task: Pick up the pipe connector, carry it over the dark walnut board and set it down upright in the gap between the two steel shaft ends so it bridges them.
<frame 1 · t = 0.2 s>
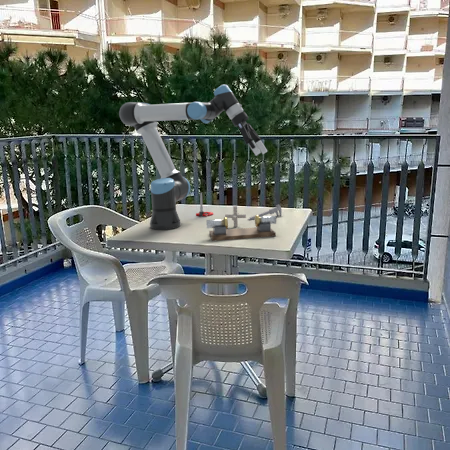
hand: (262, 153, 199), 35 cm above the table, tool tilted 35°, fingers open, 13 cm apart
caliper: (264, 218, 223), on the table
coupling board: (241, 234, 190), on the table
pipe connector: (235, 226, 206), on the table
tow hook: (205, 215, 236), on the table
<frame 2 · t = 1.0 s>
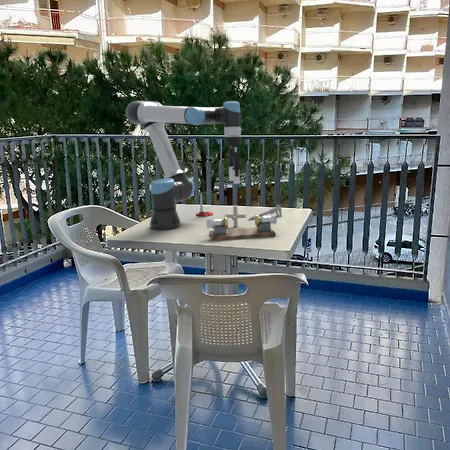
hand: (234, 181, 201), 22 cm above the table, tool pointing down, fingers open, 13 cm apart
nothing on the table moved.
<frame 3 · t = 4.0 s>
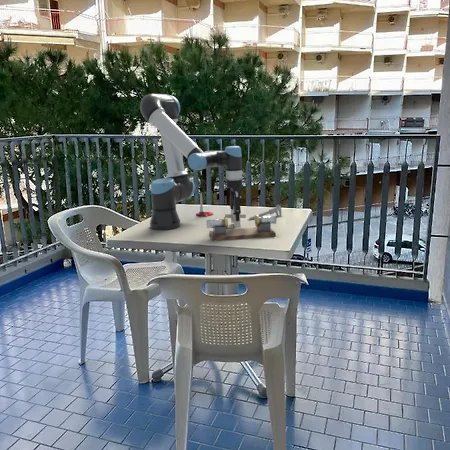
hand: (235, 224, 206), 1 cm above the table, tool pointing down, fingers closed on pipe connector, 10 cm apart
pipe connector: (235, 226, 206), on the table, touching gripper
everything else where it was.
when the fingers open (3 cm above the table, at t = 10.5 s): pipe connector stays where it is, resting on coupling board.
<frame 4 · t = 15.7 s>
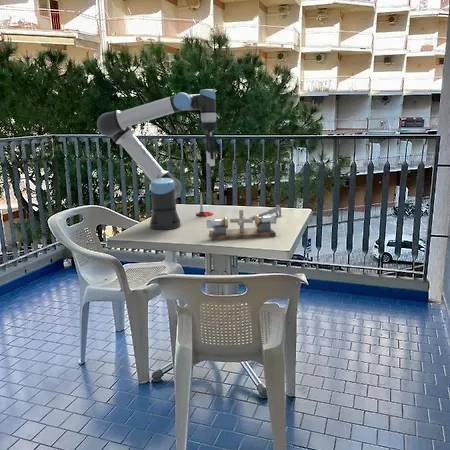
hand: (210, 164, 216), 29 cm above the table, tool pointing down, fingers open, 13 cm apart
pipe connector: (241, 232, 190), point 1 cm above the table, touching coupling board
everything else where it was.
at the end: pipe connector 0.0 cm off-centre on the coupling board, point 1.3 cm above the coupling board's base; pipe connector tilted 0°; the gripper is holding nothing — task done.
